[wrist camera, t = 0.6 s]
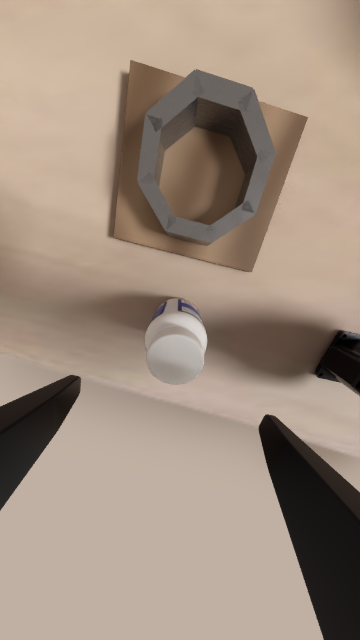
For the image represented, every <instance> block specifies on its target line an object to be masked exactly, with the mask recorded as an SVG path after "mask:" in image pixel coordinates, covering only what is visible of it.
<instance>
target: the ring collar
mask: <svg viewBox="0 0 360 640" xmlns="http://www.w3.org/2000/svg"><path fill="white" fill-rule="evenodd" d="M194 127H198V128H202V129H205V130H208V131H211V132H215V133H218V134H221V135H225V136H228V137H230V139H231V141H232V144H233V146H234V149H235V151H236V153H237V156H238V158H239V161H240V163H241V166H242V168H243V171H244V173H245V176H244V179H243V183H242V186H241V189H240V193H239V196H238V200H237V203H236V206H235V209H234V210H232V211H231V212H229V213H228V214H226V215H225V216H223V217H222V218H220V219H219V220H218V221H216V222H215V223H213V224H212V225H206V224H202V223H198V222H195V221H191V220H187V219H183V218H180V217H176V216H174V214H173V212H172V210H171V209H170V207H169V205H168V203H167V201H166V200H165V198H164V196H163V194H162V192H161V190H160V189H159V185H160V178H161V172H162V166H163V160H164V154H165V151H166V150H167V149H168V148H169V147H171V146H172V145H173V144H174V143H176V142H177V141H178V140H179V139H180V138H182V137H183V136H184V135H185V134H187V133H188V132H189V131H190V130H192V129H193V128H194ZM275 153H276V151H275V148H274V145H273V143H272V140H271V137H270V134H269V131H268V128H267V125H266V122H265V119H264V116H263V113H262V111H261V108H260V105H259V102H258V99H257V96H256V93H255V90H254V89H253V88H252V87H249V86H246V85H243V84H240V83H237V82H234V81H231V80H228V79H225V78H222V77H219V76H215V75H212V74H209V73H206V72H203V71H200V70H197V69H196V71H195V70H194V71H193V72H191V73H190V74H189V75H188V76H187V77H186V78H185V79H184V80H182V81H181V82H180V83H179V84H178V85H177V86H176V87H174V88H173V89H172V90H171V91H170V92H169V93H168V94H166V95H165V96H164V97H163V98H162V99H161V100H160V101H159V102H157V103H156V104H155V105H154V106H153V107H152V108H151V109H149V110H148V111H147V112H146V114H145V120H144V128H143V136H142V144H141V152H140V160H139V168H138V176H137V183H138V185H139V186H140V188H141V190H142V192H143V194H144V195H145V197H146V199H147V201H148V202H149V204H150V206H151V208H152V209H153V211H154V213H155V214H156V216H157V218H158V220H159V221H160V223H161V225H162V227H163V228H164V230H165V232H166V234H167V235H168V236H170V237H174V238H178V239H182V240H186V241H189V242H193V243H197V244H201V245H205V246H208V245H210V244H211V243H213V242H214V241H216V240H217V239H219V238H220V237H222V236H224V235H225V234H227V233H228V232H230V231H231V230H233V229H234V228H236V227H237V226H239V225H240V224H242V223H243V222H245V221H246V220H248V219H249V218H251V217H253V216H254V215H255V214H256V212H257V209H258V206H259V203H260V200H261V197H262V194H263V191H264V188H265V185H266V182H267V179H268V176H269V173H270V170H271V167H272V164H273V161H274V158H275V155H276V154H275Z"/></svg>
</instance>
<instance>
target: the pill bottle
mask: <svg viewBox="0 0 360 640" xmlns="http://www.w3.org/2000/svg"><path fill="white" fill-rule="evenodd" d="M145 347H146V350H147V356H146V361H147V366H148V368H149V370H150V372H151V373H152V374H153V376H155V377H156V378H157V379H159V380H160V381H162V382H165V383H168V384H184V383H187V382H189V381H191V380H193V379H194V378H195V377H196V376H197V375H198V374H199V373H200V372H201V370H202V368H203V365H204V353H205V350H206V347H207V334H206V331H205V328H204V325H203V322H202V320H201V317H200V314H199V312H198V310H197V308H196V307H195V306H194V305H193V304H192V303H191V302H189V301H187V300H185V299H181V298H173V299H169V300H167V301H165V302H163V303H162V304H161V305H160V306H159V307H158V309H157V311H156V313H155V314H154V316H153V318H152V320H151V322H150V324H149V326H148V329H147V331H146V335H145Z"/></svg>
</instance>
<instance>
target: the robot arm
mask: <svg viewBox="0 0 360 640" xmlns="http://www.w3.org/2000/svg"><path fill="white" fill-rule="evenodd" d="M315 375H316V376H317V377H318V378H322V379H327V380H331V381H336V382H340V383H343V384H344V385H345V386H347V387H348V388H349V389H351V390H352V391H353V392H355V393H356V394H357V395H359V396H360V335H358V334H354V333H350V332H346V331H340V332H339V333H338V334H337V336H336V337H335V339H334V341H333V342H332V344H331V346H330V347H329V349H328V351H327V352H326V354H325V356H324V357H323V359H322V361H321V363H320V364H319V366H318V368H317V369H316V371H315ZM80 386H81V378H80V377H79V376H75V375H69V376H67V377H65V378H63V379H60V380H58V381H56V382H54V383H52V384H49V385H47V386H45V387H43V388H40V389H38V390H36V391H34V392H32V393H29V394H27V395H25V396H23V397H20V398H18V399H16V400H14V401H12V402H9V403H7V404H5V405H3V406H0V510H1V509H2V507H3V506H4V505H5V503H6V502H7V501H8V499H9V498H10V496H11V495H12V493H13V492H14V491H15V489H16V488H17V487H18V485H19V484H20V482H21V481H22V480H23V478H24V477H25V476H26V474H27V473H28V471H29V470H30V469H31V467H32V466H33V464H34V463H35V462H36V460H37V459H38V458H39V456H40V455H41V453H42V452H43V450H44V449H45V448H46V446H47V445H48V444H49V442H50V441H51V439H52V438H53V437H54V435H55V434H56V432H57V431H58V429H59V428H60V426H61V425H62V423H63V421H64V420H65V418H66V416H67V414H68V413H69V411H70V409H71V408H72V406H73V404H74V403H75V401H76V399H77V397H78V396H79V393H80ZM259 434H260V438H261V442H262V446H263V450H264V455H265V459H266V463H267V466H268V470H269V473H270V476H271V479H272V483H273V485H274V488H275V492H276V495H277V498H278V501H279V504H280V507H281V510H282V513H283V516H284V519H285V522H286V525H287V528H288V531H289V534H290V538H291V541H292V544H293V547H294V550H295V553H296V556H297V559H298V562H299V565H300V568H301V571H302V574H303V577H304V580H305V583H306V586H307V589H308V593H309V596H310V599H311V602H312V605H313V608H314V611H315V614H316V617H317V620H318V623H319V626H320V629H321V632H322V635H323V638H324V640H360V492H359V491H358V490H356V489H355V488H354V487H353V486H352V485H351V484H350V483H349V482H347V481H346V480H345V479H344V478H343V477H342V476H341V475H340V474H338V472H336V471H335V470H334V469H333V468H332V467H331V466H330V465H329V464H328V463H326V462H325V461H324V460H323V459H322V458H321V457H320V456H318V454H316V453H315V452H314V451H313V450H312V449H311V448H310V447H309V446H308V445H306V444H305V443H304V442H303V441H302V440H301V439H300V438H299V437H298V436H296V435H295V434H294V433H293V432H292V431H291V430H290V429H289V428H288V427H286V426H285V425H284V424H283V423H282V422H281V421H280V420H279V419H278V418H276V417H275V416H273V415H268V414H267V415H265V416H264V418H263V420H262V421H261V423H260V425H259Z"/></svg>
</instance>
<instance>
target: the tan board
mask: <svg viewBox="0 0 360 640" xmlns="http://www.w3.org/2000/svg"><path fill="white" fill-rule="evenodd" d="M184 79H185V77H182V76H179V75H176V74H172V73H169V72H166V71H163V70H160V69H157V68H154V67H151V66H148V65H145V64H141V63H138V62H135V61H132V60H131V61H130V71H129V82H128V92H127V102H126V113H125V123H124V134H123V144H122V154H121V165H120V175H119V186H118V196H117V206H116V217H115V227H114V238H117V239H121V240H125V241H129V242H133V243H137V244H140V245H144V246H148V247H152V248H156V249H160V250H164V251H168V252H172V253H176V254H180V255H184V256H188V257H192V258H196V259H200V260H204V261H208V262H212V263H215V264H219V265H223V266H227V267H231V268H235V269H239V270H243V271H247V272H252V270H253V267H254V264H255V262H256V259H257V256H258V253H259V251H260V248H261V245H262V242H263V240H264V237H265V234H266V231H267V229H268V226H269V223H270V220H271V218H272V215H273V212H274V209H275V207H276V204H277V201H278V198H279V196H280V193H281V190H282V187H283V184H284V182H285V179H286V176H287V173H288V171H289V168H290V165H291V162H292V160H293V157H294V154H295V151H296V149H297V146H298V143H299V140H300V138H301V135H302V132H303V129H304V127H305V124H306V121H307V118H308V117H306V116H302V115H299V114H296V113H293V112H290V111H287V110H284V109H281V108H278V107H275V106H272V105H268V104H265V103H262V102H259V101H258V102H259V105H260V108H261V111H262V113H263V116H264V119H265V122H266V125H267V128H268V131H269V134H270V137H271V140H272V143H273V145H274V148H275V151H276V153H275V154H276V155H275V158H274V161H273V164H272V167H271V170H270V173H269V176H268V179H267V182H266V185H265V188H264V191H263V194H262V197H261V200H260V203H259V206H258V209H257V212H256V214H255V215H254V216H253V217H251V218H249V219H248V220H246V221H245V222H243V223H242V224H240V225H239V226H237V227H236V228H234V229H233V230H231V231H230V232H228V233H227V234H225V235H224V236H222V237H220V238H219V239H217V240H216V241H214V242H213V243H211V244H210V245H208V246H205V245H201V244H197V243H193V242H189V241H186V240H182V239H178V238H174V237H170V236H168V235H167V234H166V232H165V230H164V228H163V227H162V225H161V223H160V221H159V220H158V218H157V216H156V214H155V213H154V211H153V209H152V208H151V206H150V204H149V202H148V201H147V199H146V197H145V195H144V194H143V192H142V190H141V188H140V186H139V185H138V183H137V176H138V168H139V160H140V152H141V144H142V136H143V128H144V120H145V114H146V112H147V111H148V110H149V109H151V108H152V107H153V106H154V105H155V104H156V103H157V102H159V101H160V100H161V99H162V98H163V97H164V96H165V95H166V94H168V93H169V92H170V91H171V90H172V89H173V88H174V87H176V86H177V85H178V84H179V83H180V82H181V81H182V80H184ZM244 176H245V173H244V171H243V168H242V166H241V163H240V161H239V158H238V156H237V153H236V151H235V149H234V146H233V144H232V141H231V139H230V137H228V136H225V135H221V134H218V133H215V132H211V131H208V130H205V129H202V128H198V127H194V128H193V129H192V130H190V131H189V132H188V133H187V134H185V135H184V136H183V137H182V138H180V139H179V140H178V141H177V142H176V143H174V144H173V145H172V146H171V147H169V148H168V149H167V150H166V151H165V154H164V160H163V166H162V172H161V178H160V185H159V189H160V190H161V192H162V194H163V196H164V198H165V200H166V201H167V203H168V205H169V207H170V209H171V210H172V212H173V214H174V216H176V217H180V218H183V219H187V220H191V221H195V222H198V223H202V224H206V225H212V224H213V223H215V222H216V221H218V220H219V219H220V218H222V217H223V216H225V215H226V214H228V213H229V212H231V211H232V210H234V209H235V206H236V203H237V200H238V196H239V193H240V189H241V186H242V183H243V179H244Z"/></svg>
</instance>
